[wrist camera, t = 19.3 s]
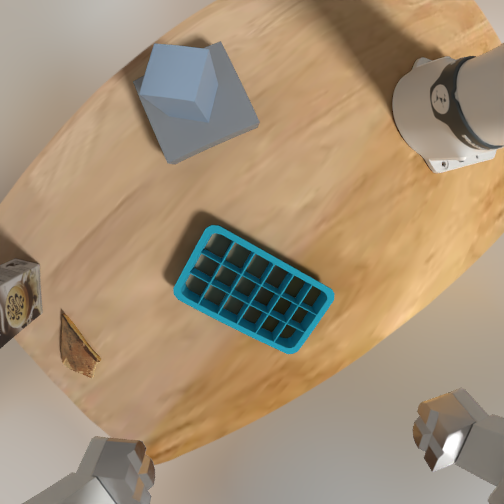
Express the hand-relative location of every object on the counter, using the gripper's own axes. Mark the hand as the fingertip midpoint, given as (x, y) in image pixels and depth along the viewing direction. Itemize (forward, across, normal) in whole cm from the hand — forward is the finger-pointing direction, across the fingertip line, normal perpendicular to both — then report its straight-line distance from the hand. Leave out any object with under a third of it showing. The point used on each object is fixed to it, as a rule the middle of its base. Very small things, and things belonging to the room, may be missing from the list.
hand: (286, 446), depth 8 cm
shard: (+38, +32, +17) cm, 53 cm away
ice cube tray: (+38, 0, +9) cm, 39 cm away
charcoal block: (+38, +5, -17) cm, 41 cm away
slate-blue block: (+32, +5, -17) cm, 37 cm away
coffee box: (+37, +38, +5) cm, 53 cm away
